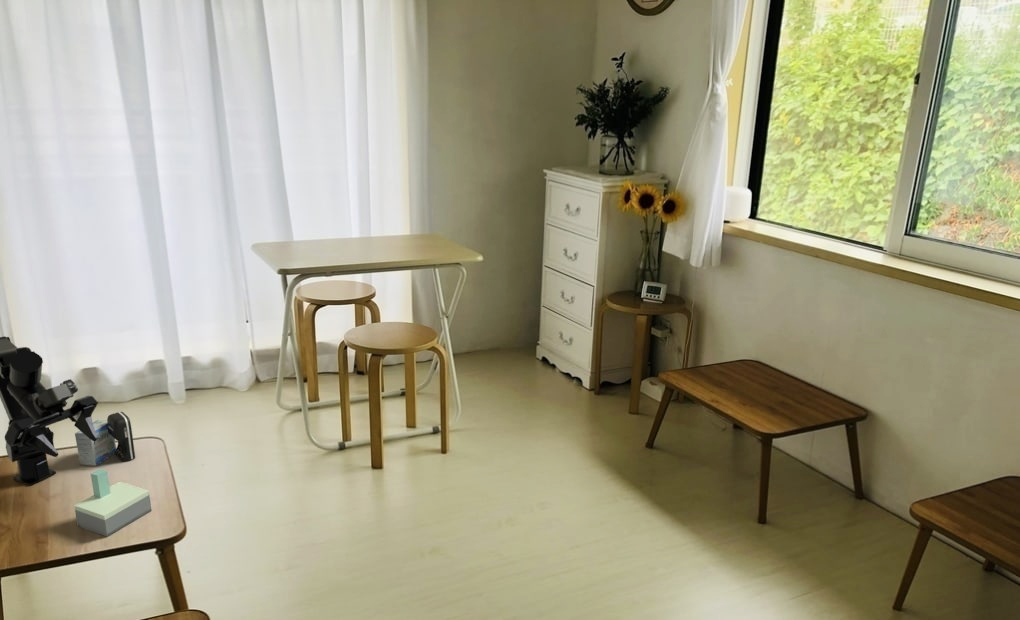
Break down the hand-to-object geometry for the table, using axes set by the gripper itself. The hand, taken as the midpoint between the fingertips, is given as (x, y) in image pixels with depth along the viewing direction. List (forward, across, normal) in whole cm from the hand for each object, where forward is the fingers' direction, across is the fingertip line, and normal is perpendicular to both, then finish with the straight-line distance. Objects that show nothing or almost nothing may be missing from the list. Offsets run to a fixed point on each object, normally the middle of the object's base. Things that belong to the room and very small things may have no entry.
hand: (76, 447), depth 161 cm
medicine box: (-5, +18, +21) cm, 28 cm away
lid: (+14, 0, +2) cm, 14 cm away
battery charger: (-1, +20, +18) cm, 27 cm away
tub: (+17, 0, +5) cm, 17 cm away
